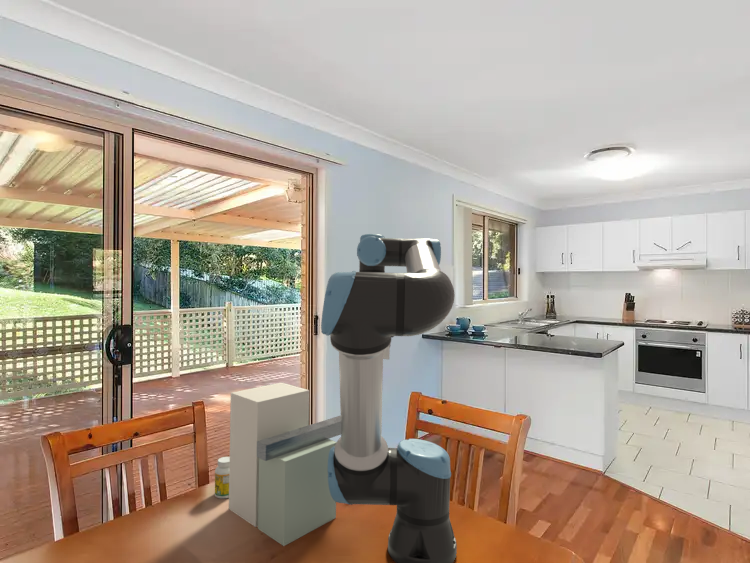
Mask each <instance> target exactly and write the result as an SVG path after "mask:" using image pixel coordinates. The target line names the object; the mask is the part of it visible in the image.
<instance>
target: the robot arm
mask: <svg viewBox="0 0 750 563" xmlns="http://www.w3.org/2000/svg"><path fill="white" fill-rule="evenodd" d="M357 244H358V245H357V247H356V256H357V258H358V260H359V261H358V262H359V263H358V264H359V265H358V267H359V271H356V270H353V271H341V272H340V271H339V272H335V273H333V274H331V275H330V276H329V279H328V281H327V285H326V288H325V293H324V299H323V305H322V313H321V323H320V329H321V333H322V334H323V335H325V336H329V337H330V343H331V344H330V345H331V347H332V348H333V349H335V350H336V351H337V352H338V363H339V367H338V368H339V369H338V370H339V403H340V411H339V412H340V415H341V435H340V437H339V439H338V440H337V441H336V442H337V443H336V445H335V446H334V447H332V448H331V449H330V451H329V456H328V485H329V491H330V494H331V497H332V498H333V500H334V501H336V503H337V504H345V505H351V506H352V505H367V506H368V505H371V506H373V505H376V506H396V514H395V516H394V521H393V523H392V524H393V525H392V528H391V530H390V532H389V533H388V539H387V551H388V555H389V556H390V558H391V559H392V560H393V561H394V562H395V563H454V562H455V561H456V559H455V558H457V555H456V554H457V551H458V550H457V549H458V547H457V546H458V544H457V539H456V537H455V532H454V529H453V525H452V523H451V518H450V500H451V499H450V498H451V497H450V496H451V495H450V491H451V477H452V472H451V458H450V456H449V453H448V452H447V450H445V449H444V448H443V447H441V446H440V445H438V444H437V443H435V442H432V441H429V440H425V439H420V438H419V439H418V438H407V439H402V440H400V441H399V442H398V444H397V446H396V447H389V445H388V443H387V440H385V438H384V437H383V436H382V430H383V429H382V427H383V422H382V421H383V418H382V417H383V383H384V382H383V381H384V380H383V377H384V376H383V375H384V374H383V373H384V372H383V371H384V369H383V368H384V360H387V361H388V360H390V352H391V350H390V348H391V343H392V338H394V337H415V336H419V335H422V334H424V333H427V332H429V331H431V330H432V329H435V328H436V327H437V326H439V325H440V324H441V323H442V322H443V321H444V320H445V319H446V317H447V316H448V315H449V314H450V312H451V310H452V309H453V306H454V303H455V294H456V293H455V290H454V289H455V288H454V286H453V284H452V281H451V279H450V277H449V276H448V275H447V274H446V273H445V272H444V271H442V270H441V267H440V264H441V259H442V258H441V257H442V247H441V241H440V240H438V239H435V238H434V239H433V238H398V237H397V238H396V237H395V238H393V237H387V238H386V237H385V236H384V235H383V234H378V233H377V234H376V233H366V234H362V235H361V236H360V237H359V242H358V243H357ZM386 267H403V268H404V267H406V272H386V271H385V270H386V269H385V268H386ZM454 560H455V561H454Z"/></svg>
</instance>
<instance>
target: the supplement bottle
mask: <svg viewBox="0 0 750 563" xmlns="http://www.w3.org/2000/svg"><path fill="white" fill-rule="evenodd" d="M229 463H230V456H222V457H219V458H217V466H216V468H215V469H214V496H215V497H216V498H218V499H222V500H223V499H229Z"/></svg>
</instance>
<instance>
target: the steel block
mask: <svg viewBox="0 0 750 563" xmlns="http://www.w3.org/2000/svg"><path fill="white" fill-rule="evenodd" d="M337 436H341V414H340V415H337V416H334V417H331V418H328V419H327V418H326V419H324V420H321V421H319V422H318V421H317V422H315V423H312V424H309V425H308V426H305V427H302V428H298V429H295V430H292V431H289V432H285V433H282V434H279V435H276V436H273V437H269V438H266V439H263V440H260V441H257V457H258V458H260V459H262V460H264V461H267V460H270V459H273V458H276V457H279V456H281V455H284V454H287V453H290V452H293V451H296V450H298V449H301V448H304V447H307V446H310V445H313V444H315V443H318V442H321V441H324V440H327V439H331V438H335V437H337Z"/></svg>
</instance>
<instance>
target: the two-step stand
mask: <svg viewBox="0 0 750 563" xmlns="http://www.w3.org/2000/svg"><path fill="white" fill-rule="evenodd" d="M229 416H230V417H229V418H230V419H229V420H230V422H229V457H230V463H229V498H228V510H230V511H231V512H232V513H234V514H236V515H237V516H239V517H240V518H242V520H244V521H246V522H247V523H249V524H251V525H252V526H253V527H255V528H256V527H257V529H258V530H259V531H260V532H262V533H263V534H265V535H266V536H267V537H269V538H271V539H272V540H274V541H276V542H277V543H278V544H280V545H281V546H283V547H285V546H287V545H288V544H291V543H293V542H294V541H297V540H298V539H299V538H301V537H303V536H305V535H307V534H309V533H311V532H313V531H314V530H316V529H318V528H320V527H322V526H323V525H325V524H327V523H329V522H331V521H333V520H334V519H336V517H337V502H336V501H334V500H333V498H332V497H331V494H330V491H329V485H328V456H329V451H330V449H331V448H332V447H334V446H335V445H336V443H337V441H335V440H332V439H331V438H329V439H327V440H324V441H321V442H318V443H315V444H313V445H310V446H307V447H304V448H301V449H298V450H296V451H293V452H290V453H287V454H284V455H281V456H279V457H276V458H273V459H270V460H267V461H264V460H262V459H260V458H258V457H257V441H260V440H263V439H266V438H269V437H273V436H276V435H279V434H282V433H285V432H289V431H292V430H295V429H298V428H302V427H305V426H308V425H310V424H309V422H310V418H309V417H310V390H309V389H306V388H303V387H300V386H295V385H292V384H288V383H285V382H277V383H271V384H268V385H263V386H258V387H252V388H247V389H243V390H238V391H233V392H230V414H229Z"/></svg>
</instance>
